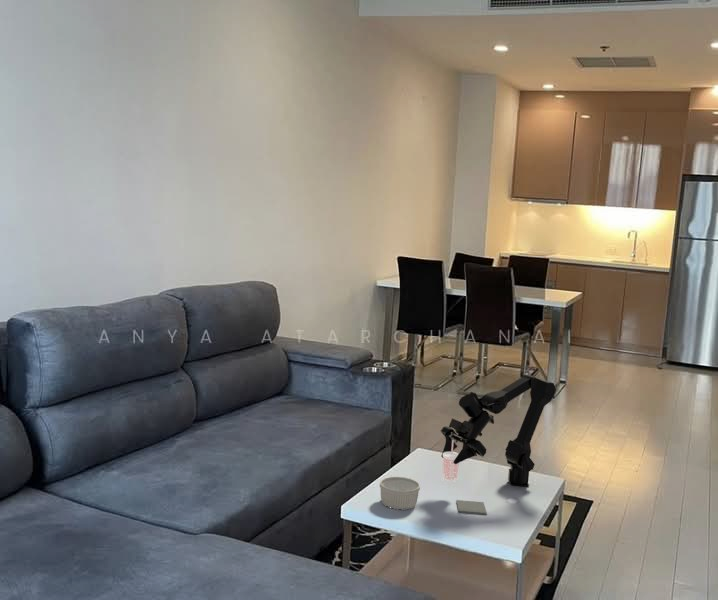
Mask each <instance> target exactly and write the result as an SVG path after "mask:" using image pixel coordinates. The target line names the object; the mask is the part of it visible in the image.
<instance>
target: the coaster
mask: <svg viewBox="0 0 718 600" xmlns="http://www.w3.org/2000/svg"><path fill="white" fill-rule="evenodd" d="M455 501H456V506H457V511H458V513H459V514H473V515H484V516H486V515H488V514H487V510H486V506H485V503H484V501H475V500H473V501H472V500H460V499H456V500H455Z"/></svg>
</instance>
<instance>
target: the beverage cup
mask: <svg viewBox="0 0 718 600" xmlns="http://www.w3.org/2000/svg"><path fill="white" fill-rule="evenodd" d="M453 442H454V440H452V450H451V452H444V453H443V452H442V453H443V458H442V460H443V461H442V462H443V463H442V480H443V481H444V482H446V483H456V482H458V481H457V480H458V473H459V467H460V466H459V465H460V463H457V464H454V460H455V459H456V457H457V456H458V454H459V453H460V452H459V453H458V452H455V451H454V450H453Z"/></svg>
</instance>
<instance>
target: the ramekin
mask: <svg viewBox="0 0 718 600" xmlns="http://www.w3.org/2000/svg"><path fill="white" fill-rule="evenodd" d="M379 488H380V499H381V503H382V504H383V505H384V506H385V505H386V506H388V507H391V508H395V509H394V510H396V509H407V510H410V508H411V509H414V507H415V506H416V505H417V502H418V498H419V492H420V490H421V485H420V483H419V482H418V481H417V480H415V479H412V478H410V477H403V476H388V477H384V478H382V479H381V480H380V482H379ZM386 506H385V507H386ZM388 507H387V508H388ZM391 508H390V509H391Z"/></svg>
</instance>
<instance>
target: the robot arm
mask: <svg viewBox="0 0 718 600" xmlns="http://www.w3.org/2000/svg"><path fill="white" fill-rule="evenodd" d="M529 390H530V392H529V393H530V403H529V404H528V405H529V406H528V409H527V410H526V412H525V413H526V414H525V416H524V418H523V421H522V424H521V426H520V428H519V431H518V434H517V436H516V438H514V439H512V440H511V439H510V440H508V442H507V446H506V448H505V453H504V456H505V459H506V462H507V463H506V464H508V465H510V468H508V475H507V476H508V477H507V480H508V482H509V484H510V486H516V487H528V486H529V487H530V484H529V476H530V472H531V471H533V470H534V467H535V463H534V461H533V460H532V459H531V458H530V457H531V455H532V454H531V453H532V449H531V440H532V439H533V436H534V433H535V431H536V428H537V426H538V423H539V421H540V418H541V416H542V413H543V411H544V408H545V406H546V405H548V404H549V403H550V402H551V401H552V399H553V398H554V396H555V394H556V391H557V388H556V385H555V383H553V382H550V381H548V380H545V379H541V378H538V377H536V376H534V375H531V374H523V375H522V376H521V377H520V378H518V379H517V380H515V381H514V382H512V383H511V384H509V385H507V386H505V387H503V388H502V389H500V390H497V391H491V392H487V393H485V394H484V395H482V396H481V397H478V395H477V393H476V392H473V391H471V392H470V393H468V394H465V395H463V396H461V397H460V399H459V401H458V405H459V407H460V408H461V410H462V411H464V413H465V414H466V416H467V417H469V419H468V420H463V422H461V421H460V420H457V419H456V418H454V417H453V418H451V420H450V422H449V424H448V426H447V425H446V426H443V427H442V428H441V430H440V432H441V434H442V435H443V437H444V438H445V443H444V447H443V449H442V450H443V451H442V453H441V455H440V456H441V458H442V459H443V453H444V452H451V450H452V440H454V442H453V451H454V450H455V449H457V448H458V445H457V444H456V443H458V442H459V443H461V444H462V448H461V450H460V452H459V454H458V456H457V457H456V459H455V460H454V464H457V463H459V464H460V463H462V462H463V461H465V460H466V461H467V460H469V459H471V458H473V457H478V456H479V457H481V458H484V457H485V455H486V453H487V448H486V446H484V444H483V443H482V442H481V441H480V440H478V439H477V438H478V437H482V436H483V433H482V432H483V430H484V429H485V428H486V427H487V425H488V424H491V425H494V424H495V419H494V415H492V414H495V415H498V414H501V413H502V411H504V410H505V409H506V408H507V406H508V404H509V403H510V402H511V401H512V400H514V399H515V398H517V397H519V396H521V395H522V394H524V393H526V392H527V391H529ZM490 413H492V414H490Z"/></svg>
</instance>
